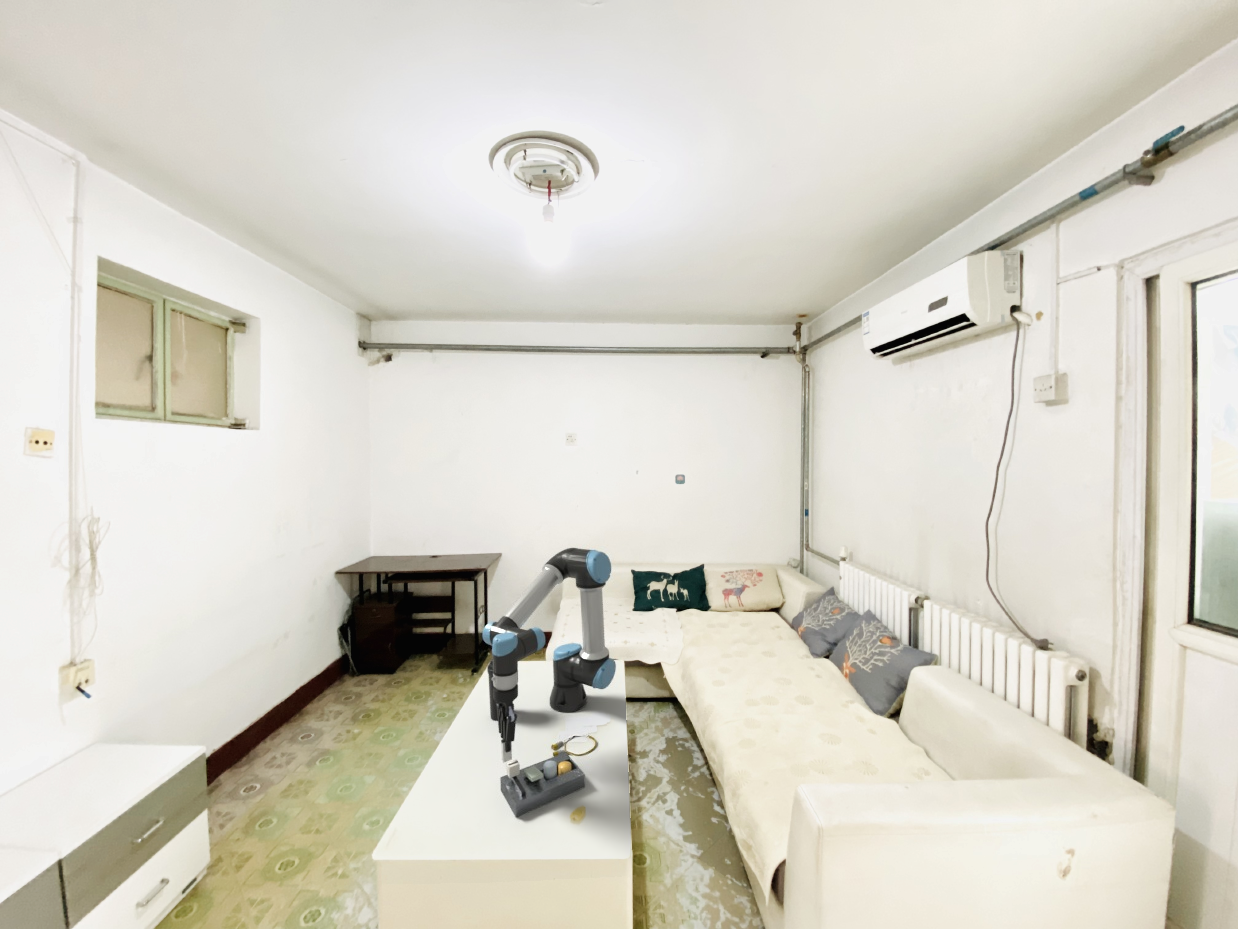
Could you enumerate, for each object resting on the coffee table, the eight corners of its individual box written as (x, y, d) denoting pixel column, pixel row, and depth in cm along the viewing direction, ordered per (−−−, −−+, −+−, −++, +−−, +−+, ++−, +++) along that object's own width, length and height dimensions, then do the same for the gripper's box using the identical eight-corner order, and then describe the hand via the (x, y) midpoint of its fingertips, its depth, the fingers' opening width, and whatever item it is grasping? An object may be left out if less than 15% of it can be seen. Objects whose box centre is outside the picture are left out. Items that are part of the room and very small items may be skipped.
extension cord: (553, 737, 172) (553, 732, 172) (597, 736, 173) (597, 731, 172) (549, 759, 160) (549, 753, 160) (596, 758, 160) (596, 752, 160)
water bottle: (520, 711, 189) (519, 654, 189) (503, 725, 180) (502, 664, 179) (499, 706, 193) (498, 650, 193) (482, 718, 184) (481, 660, 184)
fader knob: (516, 769, 146) (516, 758, 146) (519, 774, 144) (519, 763, 144) (506, 773, 144) (506, 762, 144) (509, 778, 142) (509, 767, 142)
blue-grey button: (553, 772, 149) (553, 759, 149) (558, 779, 146) (558, 766, 146) (541, 777, 147) (541, 763, 147) (546, 784, 144) (546, 770, 144)
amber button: (567, 772, 152) (567, 759, 152) (573, 779, 149) (573, 766, 149) (556, 777, 150) (556, 764, 150) (562, 784, 147) (561, 771, 146)
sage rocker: (534, 769, 147) (534, 765, 148) (543, 777, 142) (543, 773, 142) (523, 773, 145) (523, 770, 146) (532, 782, 140) (531, 778, 140)
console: (565, 764, 157) (565, 748, 157) (584, 787, 146) (584, 770, 146) (500, 790, 145) (500, 773, 145) (515, 817, 134) (515, 799, 134)
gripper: (487, 679, 151) (488, 753, 152) (500, 697, 140) (501, 776, 141) (510, 673, 155) (511, 745, 156) (524, 690, 144) (525, 767, 145)
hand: (506, 759), depth 148 cm, fingers closed
